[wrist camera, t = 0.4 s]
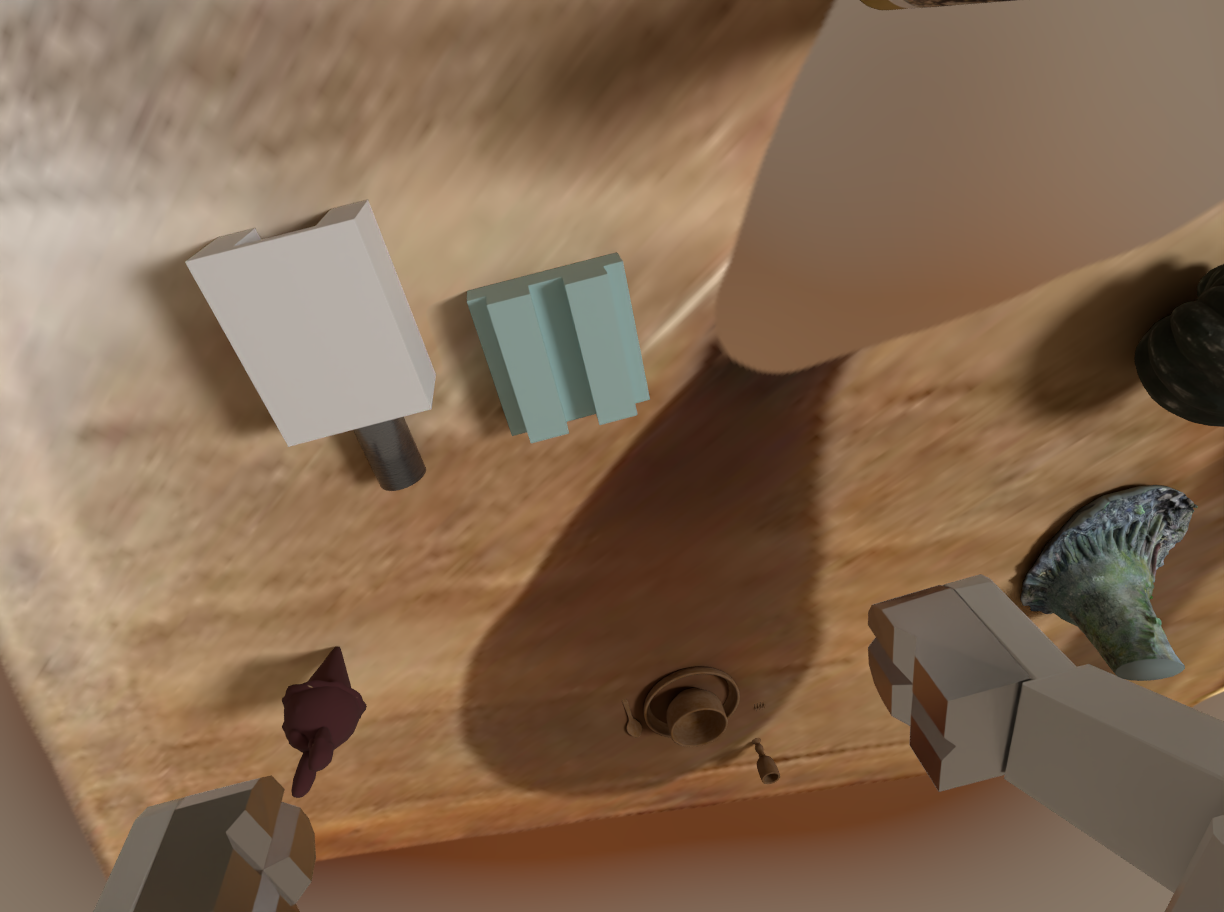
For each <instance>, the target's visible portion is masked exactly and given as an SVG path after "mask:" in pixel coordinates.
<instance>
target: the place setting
mask: <svg viewBox="0 0 1224 912" xmlns="http://www.w3.org/2000/svg"><path fill="white" fill-rule="evenodd" d="M698 674H711V675H716V676H720V677H723V678H724V679H725V680H726V681H727V683H728V686H729V694H728V698H727V700H726V702H725V703H724V705H723V706H722V704H721V702H720V700H719V699H718V697H717V696H716V695H714V694H713V693H711V692H709V691H707V690H702V689H698V688H690V689H686V690H684V691H682V692H680V693H679V694H678V695H677V696H676V698H674V699H673V700H672V702H671V703H670V705H669V707H668V709H667V723H664V722H662V721H660V720H658V719H657V718H656V717H655V716H654V715H653V714H652V712H651V709H650V701H651V700H652V698H653V697H654V696H655V694H656V693H657V692H658V691H660V690H661V689H662V688H663V687H665V686H666V685H668V684H670V683H671V682H673V681H676V680H678V679H680V678H683V677H687V676H691V675H698ZM739 698H740V694H739V690H738V687H737V685H736V683H735V682H734V680H733V679H732V678H731V677H730V676H729V675H728V674H726V673H725V672H723V671H721V670H718V669H715V668H711V667H691V668H686V669H682V670H679V671H676V672H674V673H672V674H670V675H668V676H666V677H665V678H663V679H662V680H660V681H659V682H658V683H657V684H656V685H655V686H654V687H653V688H652V689H651V691H650V692H649V693H648V695H647V697H646V700H645V703H644V709H643V710H644V718H645V722H646V724H647V725H648V727H649V728H650V729H651V730H652V731H654V732H655V733H657V734H659V735H661V736H665V737H669V738H672V740H673V741H674V742H675V743H677V744H679V745H681V746H685V747H698V746H702V745H706V744H708V743H711V742H712V741H714V740H716V739H717V738H719V737H720V736H721V735H722V734H723V732H724V731H725V730H726V727H727V724H728V719H729V718H730V717H731V715H732V714H733V713H734V712H735V710H736V708H737V706H738V703H739ZM622 702H623V705H624V707H625V710H626V712H627V715H628V718H629V721H628V723H627V732H628V733H629V734H630V735H631V736H633V737H635V738H637V737H639V736H640V734H641V732H642V726H641V724H640V723H639V722H638V721H637V720H636V719H634V718H633V717H632V714H631V711H630V708H629V705H628V701H627V699H624V700H622ZM754 705H755V709H756V711H757V708H756V704H754ZM757 705H758V708H759V704H758V703H757ZM760 705H761V708H762V704H761V702H760ZM763 705H764V708H765V704H764V701H763ZM759 710H760V709H759ZM760 741H761V739H760V738H755V739H753V740H752V743H753V744H755V750H756V752H757V753H758V754H759V759H758V761H757V769H758V772H759V775H760V778H761V780H762V782H763V783H764V784H772V783H774V782H776V781H778V780H779V778H780V773H779V771H778V768H777V766H776V764H775V762H774V760H773V759H772V758H771V757H769V756H766V755H765V754H764V751H763V746H762V745H761V744H760Z"/></svg>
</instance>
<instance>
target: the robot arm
mask: <svg viewBox="0 0 1224 912" xmlns="http://www.w3.org/2000/svg"><path fill="white" fill-rule="evenodd" d="M868 626H869V627H870V629H871V630H872V632H873V633H874V635H875V636H876V638H875V639H874V640H873V642H872V643H871V644H870V646H869V647H868V656H869V667H870V670H871V674H872V677H873V681H874V684H875V686H876V688H877V690H878V693H879V695H880V697H881V699H882V701H883V702H884V704H885V706H886V707H887V709H888V711H889V712H890V714H891V716H893V717H895V718H896V719H898V720H900V721H902V722H904V723H905V724H907V725H909V726H910V747H911V748H912V750H913V751H914V753H915V754H916V756H917V758H918V759H919V761H920V762H921V764H922V766H923V767H924V769H925V770H926V772H927V774H928V775H929V777H930V778H931V780H932V781H933V783H934V785H935V786H936V788H937V790H938V791H939V792H940V791H944V790H948V789H951V788H955V787H959V786H963V785H967V784H970V783H975V782H978V781H982V780H986V779H990V778H993V777H998V776H1001V775H1005V777H1004V779H1006V780H1007V781H1009V782H1010V783H1012V784H1013V785H1015V786H1016V787H1018V788H1019V789H1020V790H1022V791H1023V792H1025V793H1026V794H1028V795H1029V796H1031V797H1032V798H1034V799H1035V800H1037V801H1038V802H1040V803H1041V804H1043V805H1044V806H1046V807H1047V808H1049V809H1050V810H1052V811H1053V812H1055V813H1056V814H1058V815H1059V816H1061V817H1062V818H1064V819H1065V820H1066V821H1068V822H1069V823H1071V824H1072V825H1074V826H1075V827H1077V828H1078V829H1080V830H1081V831H1083V832H1084V833H1086V834H1087V835H1089V836H1090V837H1092V838H1093V839H1095V840H1096V841H1098V842H1099V843H1101V844H1102V845H1104V846H1105V847H1107V848H1108V849H1110V850H1111V851H1112V852H1114V853H1115V854H1117V855H1118V856H1120V857H1121V858H1123V859H1124V860H1126V861H1127V862H1129V863H1130V864H1132V865H1133V866H1135V867H1136V868H1138V869H1139V870H1141V871H1142V872H1144V873H1145V874H1147V875H1148V876H1150V877H1151V878H1153V879H1154V880H1155V881H1157V882H1159V883H1160V884H1161V885H1163V886H1164V887H1166V888H1167V889H1169V890H1170V891H1172V892H1173V893H1174V894H1173V896H1172V898H1171V901H1170V903H1169V904H1168V906H1167V908H1166V910H1165V912H1224V721H1222V720H1219V719H1216V718H1214V717H1212V716H1210V715H1207V714H1205V713H1202V712H1200V711H1198V710H1195V709H1193V708H1191V707H1188V706H1186V705H1184V704H1181V703H1179V702H1177V701H1174V700H1172V699H1170V698H1167V697H1165V696H1162V695H1160V694H1158V693H1155V692H1153V691H1151V690H1148V689H1146V688H1144V687H1141V686H1139V685H1136V684H1134V683H1132V682H1129V681H1127V680H1125V679H1122V678H1120V677H1118V676H1115V675H1113V674H1110V673H1108V672H1106V671H1103V670H1101V669H1099V668H1096V667H1094V666H1092V665H1089V664H1087V665H1083V666H1079V667H1076V666H1075V665H1074V664H1073V663H1072V662H1071V661H1070V660H1069V659H1068V658H1067V657H1066V656H1065V655H1064V654H1063V653H1062V652H1061V651H1060V650H1059V649H1058V647H1057V646H1056V645H1055V644H1054V643H1053V642H1052V641H1051V640H1050V639H1049V638H1048V637H1047V636H1046V635H1045V634H1044V633H1043V632H1042V631H1041V630H1040V629H1039V628H1038V627H1037V626H1036V625H1035V624H1034V623H1033V622H1032V621H1031V620H1030V619H1029V618H1028V617H1027V616H1026V615H1025V614H1024V613H1023V612H1022V611H1021V610H1020V609H1019V608H1018V607H1017V606H1016V605H1015V604H1014V603H1013V602H1012V601H1011V600H1010V599H1009V598H1008V597H1007V595H1006V594H1005V593H1004V592H1003V591H1002V590H1001V589H1000V588H999V587H998V586H997V585H996V584H995V583H994V582H993V581H992V580H991V579H990V578H988V577H985V576H983V575H981V574H980V575H976V576H973V577H969V578H966V579H962V580H959V581H955V582H951V583H948V584H945V585H943V586H941V585H938V586H935V587H931V588H928V589H924V590H921V591H918V592H914V593H911V594H907V595H904V596H901V597H897V598H894V599H891V600H887V601H884V602H880V603H877V604H874V605H872V606H871V608H870V610H869V612H868ZM284 790H285V789H284V788H283V787H282V786H281V785H280V784H279V783H278V782H277V781H276V780H275V779H274V777H273V776H272V775H271V776H267V777H262V778H258V779H254V780H250V781H246V782H242V783H238V784H234V785H230V786H226V787H223V788H219V789H215V790H211V791H207V792H203V793H199V794H195V795H191V796H187V797H183V798H180V799H176V800H172V801H169V802H165V803H161V804H157V805H154V806H150V807H147V808H146V809H145V810H144V812H143V813H142V814H141V815H140V816H139V817H138V818H137V819H136V820H135V822H134V824H133V826H132V828H131V830H130V832H129V834H128V837H127V839H126V841H125V843H124V845H123V848H122V850H121V852H120V854H119V856H118V859H117V861H116V863H115V865H114V867H113V870H112V872H111V874H110V876H109V878H108V881H107V883H106V885H105V887H104V889H103V892H102V894H101V896H100V898H99V900H98V903H97V905H96V907H95V909H94V911H93V912H300V911H299V909H298V908H297V905H296V903H297V901H298V900H299V898H300V897H301V896H302V894H303V893H304V891H305V890H306V889H307V887H308V886H309V884H310V883H311V881H312V875H313V870H314V865H315V860H316V852H315V834H314V831H313V828H312V826H311V823H310V820H309V818H308V817H307V816H306V814H305V813H304V812H303V811H302V809H301V808H299V807H296V806H293V805H290V804H287V803H284V802H281V801H282V797H283V794H284Z"/></svg>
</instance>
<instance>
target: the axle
mask: <svg viewBox="0 0 1224 912" xmlns="http://www.w3.org/2000/svg"><path fill="white" fill-rule="evenodd" d="M353 431H354V433H355V435H356V437H357V439H358V441H359V443H360V445H361V447H362V449H363V451H364V453H365V455H366V457H367V459H368V461H369V463H370V465H371V468H372V470H373V472H374V474H375V476H376V478H377V480H378V482H379V484H380V486H381V488H382V489H384V490H387V491H396V490H401V489H404V488H407V487H409V486H411V485H413V484H415V483H416V482H418V481H419V480H420V479H421V478H422V477H423V476H424V474H425V472H426V467H425V465H424V462H423V460H422V458H421V456H420V453H419V451H418V449H417V446H416V444H415V442H414V439H413V437H412V435H411V433H410V430H409V428H408V426H407V423H406V421H405V419H404V416H403V417H400V418H396V419H392V420H388V421H384V422H381V423H377V424H373V425H369V426H365V427H362V428H358V429H354V430H353Z"/></svg>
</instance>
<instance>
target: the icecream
mask: <svg viewBox="0 0 1224 912" xmlns="http://www.w3.org/2000/svg"><path fill="white" fill-rule="evenodd" d="M282 702H283V705H284V723H283V725H282V728H283V730H284V732H285V735H286V738H287V739H288V741H289V744H290V745H291V746H292V747H293V748H296V749H298V750H299V751H300V752H303V755H302V757H301V759H300V761H299V764H298V767H297V770H296V773H295V776H294V778H293V785H292V796H293V797H296V798H300V797H303V796H304V795H306V794H307V793H308V792H309V790H310V788H311V786H312V784H313V782H314V780H315V777H316V772H317V771H320V770H322V769H324V768H325V767H326V766H328V764H329V763H330V762H331V760H332V756H333V750H334V749H336V748H337V747H338V746H340V745H341V744H343V743H344V742H345V741H347V740H348V739H349V737H350V736H351V735H352V734H353V733H354V731H355V728H356V726H357V723H358V721H359V719H360V718H361V715H362V714H363V712H364V711H365V710H366V707H367V706H366V704H365V702H364V701H363V699H362V696H361V695H360V693H358V692H357V691H356V690H354V689H352V688H351V685H350V681H349V677H348V674H347V670H346V666H345V663H344V659H343V655H342V652H341V649H340V647H335V648H334V649H333V650H332V651H331V653H330V654H329V655H328V657H327V658H326V659H325V660H324V662H323V663H322V664H321V665H320V667H319V668H318V669H317V671H316V672H315V673H314V674H313V676H312V677H311V678H310V679H309V681H308V682H306V683H303V684H295V685H291V686H289V687H288V688H287V690H286V694H285V696H284V697H283V698H282Z"/></svg>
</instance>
